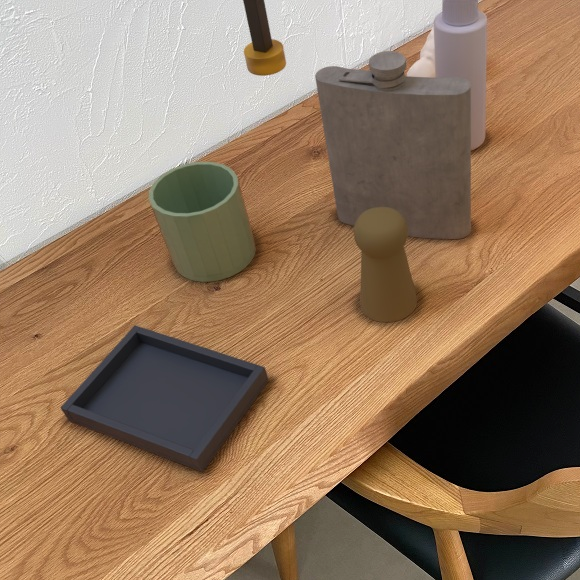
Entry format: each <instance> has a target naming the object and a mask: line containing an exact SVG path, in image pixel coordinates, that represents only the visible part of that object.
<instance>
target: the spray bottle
mask: <svg viewBox="0 0 580 580" xmlns="http://www.w3.org/2000/svg"><path fill="white" fill-rule="evenodd" d="M441 1H442V3H441V5H442V8H441V9H442V10H441V11H440V12H439V13H438V14H437V15H436V16H435V17H434V19H433V26H434V49H435V77H436V78H449V77H458V78H463V79H466V80H467V81H469V82H470V84H471V151H474V150H476V149H478V148H479V147H481V146H482V145H483V144H484V142H485V139H486V132H487V131H486V130H487V129H486V127H487V126H486V125H487V123H486V122H487V120H486V119H487V70H488V69H487V65H488V64H487V63H488V59H487V58H488V16H487V14H486V13H484V12H483V11H482V10H481V9H479V0H441Z"/></svg>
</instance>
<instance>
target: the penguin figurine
mask: <svg viewBox="0 0 580 580" xmlns="http://www.w3.org/2000/svg"><path fill="white" fill-rule="evenodd" d="M406 76H409V77H432V78H436V77H435V49H434V25H433V26H432V27H431V30H430V32H429V33H428V35H427V37H426V40H425V42H424V45H423V46H422V47H421V49H420V52H419V59H418V60H416V61H415V62H414V63H413V64H412V65H411V67H410V68H408V71H407V73H406Z"/></svg>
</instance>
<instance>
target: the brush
mask: <svg viewBox="0 0 580 580" xmlns="http://www.w3.org/2000/svg"><path fill="white" fill-rule="evenodd" d="M242 1H243V2H242V3H243V6H244V11H245V16H246V20H247V24H248V30H249V35H250V40H251V42H250V43H248V44H247V45H246V46H245V47H244V49H243V55H244V60H245V64H246V69H247V71H248V72H249V74H252V75H254V76H261V77H265V76H271V75H275V74H278V73H280V72H281V71H283V70H284V69H285V68H286V66H287V59H286V54H285V53H286V52H285V48H284V44H283V43H282V41H279V40H277V39H272V34H271V30H270V24H269V19H268V13H267V8H266V2H265V0H242Z"/></svg>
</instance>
